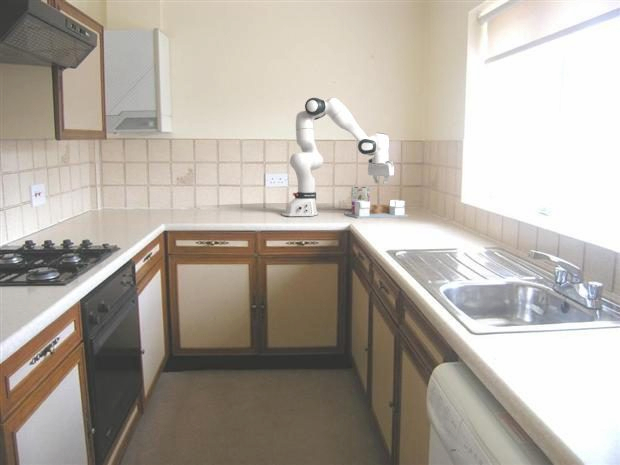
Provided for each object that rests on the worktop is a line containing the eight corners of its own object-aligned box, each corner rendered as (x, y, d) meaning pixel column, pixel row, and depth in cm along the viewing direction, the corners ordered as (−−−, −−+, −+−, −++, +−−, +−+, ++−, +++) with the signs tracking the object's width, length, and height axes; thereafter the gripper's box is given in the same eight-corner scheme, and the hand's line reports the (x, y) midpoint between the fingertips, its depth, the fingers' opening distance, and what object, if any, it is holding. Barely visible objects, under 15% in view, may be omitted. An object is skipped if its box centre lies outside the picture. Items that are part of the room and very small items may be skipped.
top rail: (355, 214, 327) (355, 206, 326) (352, 213, 330) (352, 205, 330) (392, 212, 337) (392, 205, 336) (389, 212, 340) (389, 204, 340)
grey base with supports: (357, 218, 315) (357, 202, 314) (344, 214, 334) (344, 199, 332) (408, 216, 326) (409, 201, 325) (392, 213, 345) (393, 198, 343)
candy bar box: (369, 211, 352) (370, 186, 350) (368, 212, 347) (368, 187, 345) (352, 211, 355) (353, 186, 353) (351, 211, 351) (351, 186, 348)
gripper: (396, 160, 313) (396, 184, 315) (374, 160, 330) (373, 182, 332) (388, 160, 310) (387, 184, 312) (366, 160, 327) (365, 182, 329)
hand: (380, 183), depth 322 cm, fingers open, 7 cm apart
